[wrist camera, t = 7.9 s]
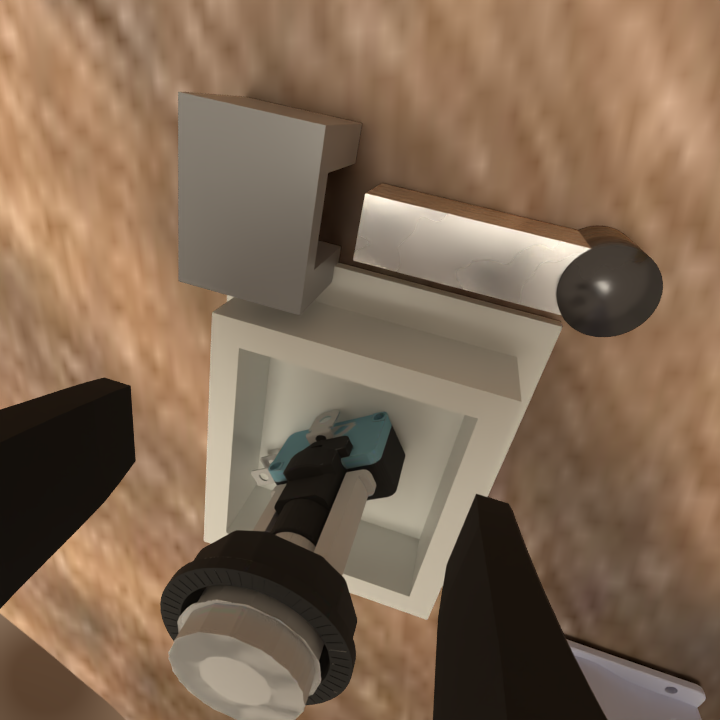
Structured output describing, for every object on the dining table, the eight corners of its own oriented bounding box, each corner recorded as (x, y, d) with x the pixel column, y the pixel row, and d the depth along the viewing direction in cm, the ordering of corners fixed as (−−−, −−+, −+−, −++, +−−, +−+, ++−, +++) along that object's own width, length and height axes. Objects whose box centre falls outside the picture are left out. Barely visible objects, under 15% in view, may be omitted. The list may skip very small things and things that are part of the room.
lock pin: (652, 237, 14) (682, 260, 12) (614, 314, 16) (634, 347, 14) (383, 173, 16) (365, 183, 13) (368, 250, 17) (349, 271, 15)
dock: (621, 181, 14) (661, 201, 11) (448, 579, 23) (440, 655, 20) (244, 96, 16) (178, 91, 12) (220, 501, 25) (179, 561, 21)
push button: (293, 500, 23) (169, 739, 14) (240, 406, 21) (60, 615, 12) (426, 477, 20) (375, 752, 11) (379, 369, 18) (277, 597, 10)
